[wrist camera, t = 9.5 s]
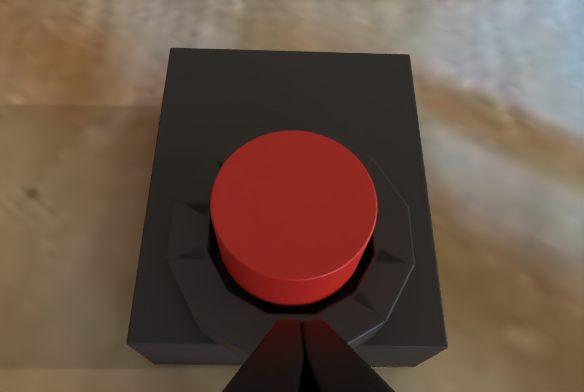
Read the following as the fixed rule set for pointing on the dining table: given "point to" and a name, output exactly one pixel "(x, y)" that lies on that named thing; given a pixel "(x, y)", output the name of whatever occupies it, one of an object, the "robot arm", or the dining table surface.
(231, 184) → the power button
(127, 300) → the dining table surface
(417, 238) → the power block
